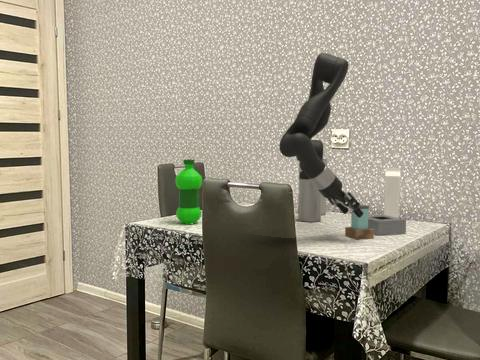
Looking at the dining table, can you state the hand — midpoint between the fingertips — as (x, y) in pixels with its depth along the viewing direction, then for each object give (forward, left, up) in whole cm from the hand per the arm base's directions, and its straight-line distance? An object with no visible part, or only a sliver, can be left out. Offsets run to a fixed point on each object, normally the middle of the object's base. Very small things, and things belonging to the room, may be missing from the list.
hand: (353, 213), depth 161 cm
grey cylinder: (-14, +53, -8) cm, 56 cm away
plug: (+2, +1, -8) cm, 8 cm away
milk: (+19, +41, -8) cm, 46 cm away
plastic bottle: (-62, +16, -8) cm, 64 cm away
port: (+11, +13, -8) cm, 19 cm away
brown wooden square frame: (+2, +1, -8) cm, 8 cm away
